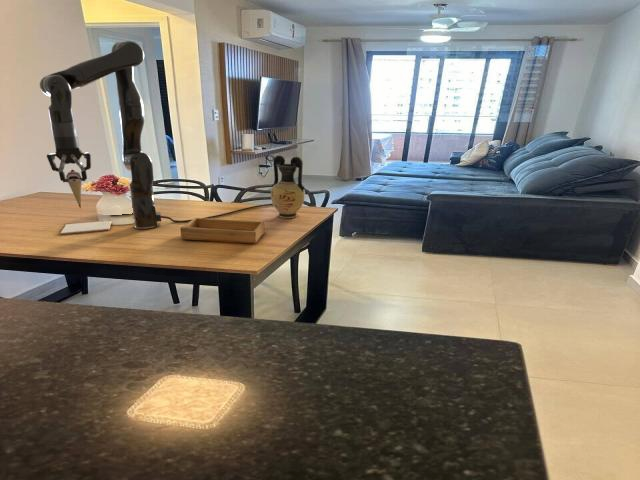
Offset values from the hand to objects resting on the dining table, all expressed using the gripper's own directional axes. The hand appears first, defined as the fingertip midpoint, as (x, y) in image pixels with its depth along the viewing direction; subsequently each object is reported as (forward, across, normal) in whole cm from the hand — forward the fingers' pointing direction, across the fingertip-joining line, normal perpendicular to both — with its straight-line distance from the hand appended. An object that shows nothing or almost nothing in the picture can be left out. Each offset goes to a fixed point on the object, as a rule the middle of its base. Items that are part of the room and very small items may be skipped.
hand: (74, 181), depth 143 cm
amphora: (+25, +88, +10) cm, 92 cm away
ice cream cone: (+11, 0, 0) cm, 11 cm away
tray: (+25, +52, -13) cm, 59 cm away
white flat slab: (+24, -2, +21) cm, 32 cm away
